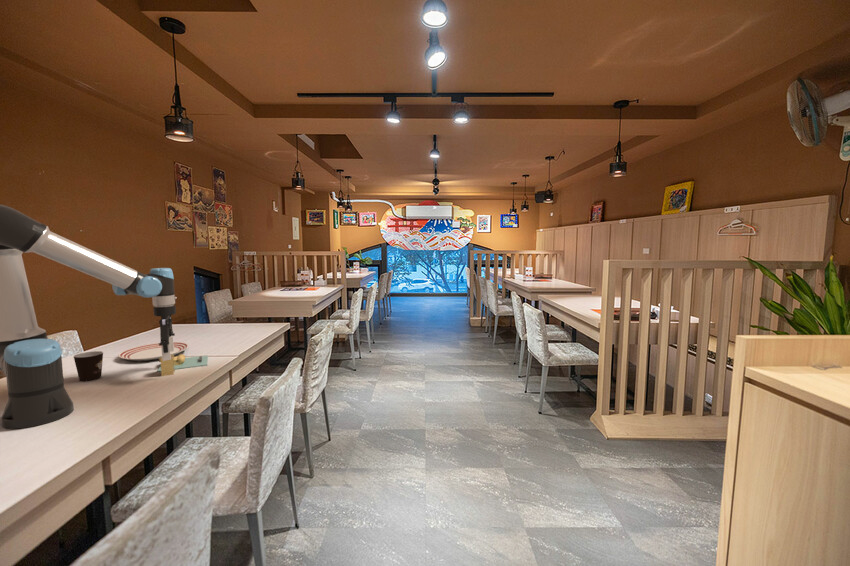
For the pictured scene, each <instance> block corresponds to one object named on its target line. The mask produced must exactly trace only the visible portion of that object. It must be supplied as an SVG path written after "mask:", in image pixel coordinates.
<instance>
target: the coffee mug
mask: <svg viewBox="0 0 850 566" xmlns="http://www.w3.org/2000/svg"><path fill="white" fill-rule="evenodd" d="M103 359H104V351H102V350H101V351H100V350H98V351H97V350H95V351H93V350H92V351H87V352H81V353H78V354H74V355H73V361H74V364H75V369H76V371H77V375H78V381H79V382H84V383H85V382H92V381H96V380H98V379H101V378H102V374H103V373H102V371H103Z"/></svg>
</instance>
